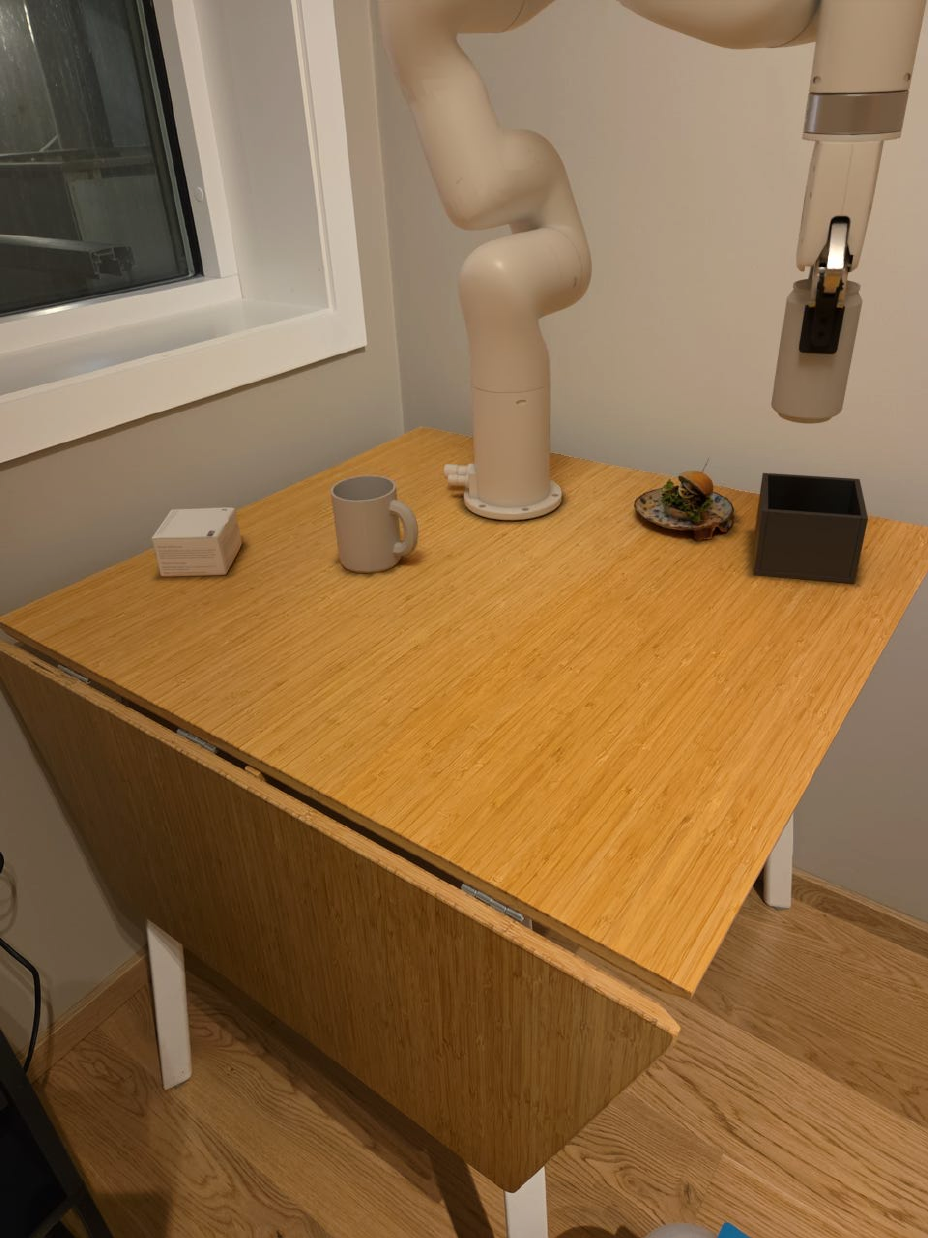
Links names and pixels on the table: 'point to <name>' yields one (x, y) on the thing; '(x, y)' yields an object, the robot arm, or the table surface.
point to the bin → (809, 527)
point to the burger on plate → (687, 506)
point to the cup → (371, 524)
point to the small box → (197, 542)
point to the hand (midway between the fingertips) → (816, 339)
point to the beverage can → (813, 361)
